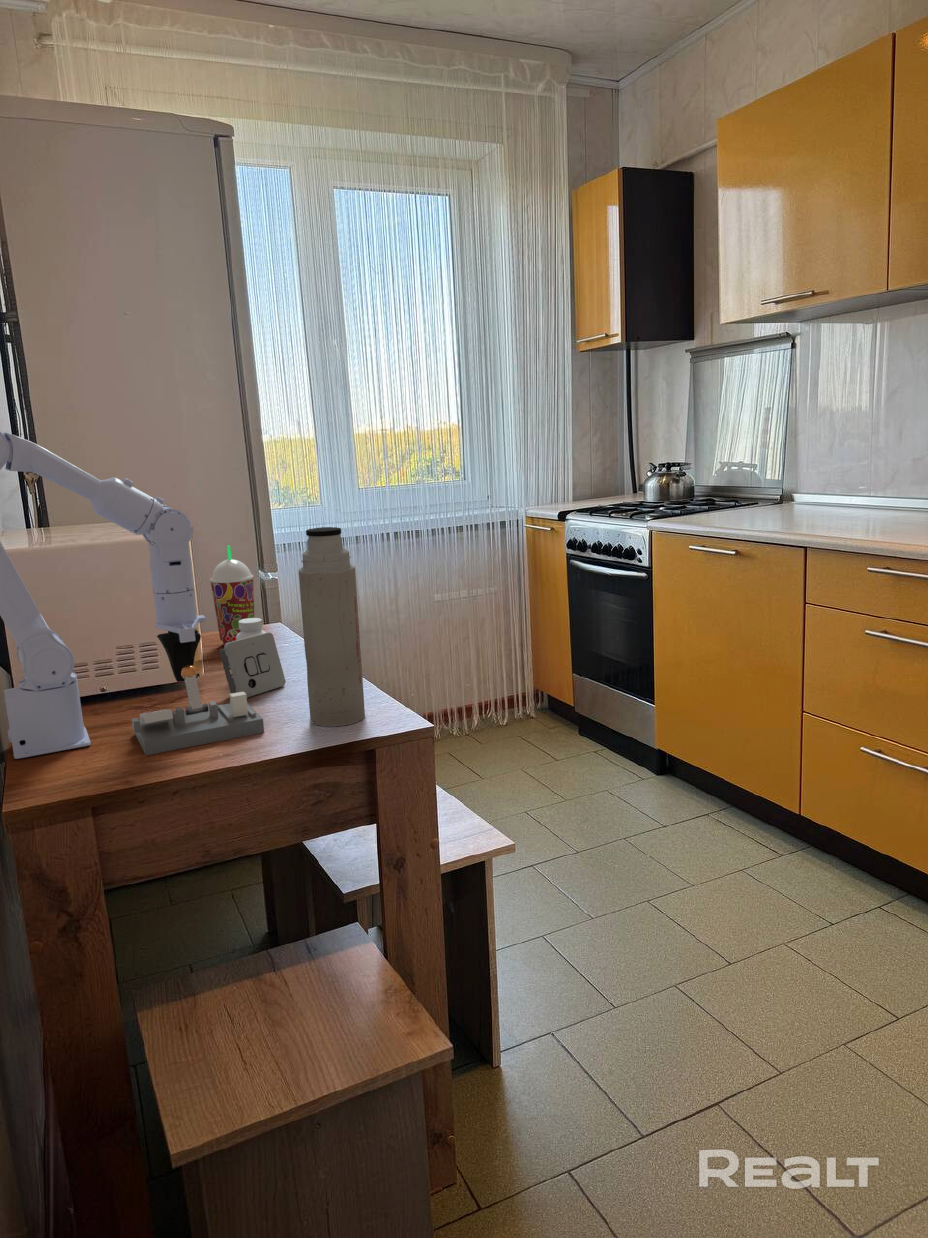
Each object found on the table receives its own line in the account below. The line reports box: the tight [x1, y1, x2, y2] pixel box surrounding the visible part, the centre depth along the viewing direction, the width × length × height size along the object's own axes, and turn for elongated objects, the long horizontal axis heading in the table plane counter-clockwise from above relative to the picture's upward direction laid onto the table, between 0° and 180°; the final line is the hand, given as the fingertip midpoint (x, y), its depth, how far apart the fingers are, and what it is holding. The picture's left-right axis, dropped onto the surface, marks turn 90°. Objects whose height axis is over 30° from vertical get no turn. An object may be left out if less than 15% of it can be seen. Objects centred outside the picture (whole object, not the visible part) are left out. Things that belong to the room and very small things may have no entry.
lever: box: [181, 665, 209, 716], centre depth 124 cm, size 3×2×7 cm
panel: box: [131, 701, 265, 756], centre depth 123 cm, size 17×10×4 cm, turn 118°
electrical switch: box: [218, 631, 287, 698], centre depth 143 cm, size 9×5×9 cm, turn 141°
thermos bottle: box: [298, 526, 366, 728], centre depth 125 cm, size 8×8×28 cm
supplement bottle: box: [236, 617, 267, 640], centre depth 152 cm, size 5×5×10 cm
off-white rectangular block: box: [229, 692, 248, 717], centre depth 124 cm, size 2×2×3 cm
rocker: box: [139, 709, 173, 723], centre depth 121 cm, size 4×6×1 cm, turn 28°
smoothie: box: [209, 545, 255, 646], centre depth 173 cm, size 8×8×20 cm
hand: (183, 680), depth 130 cm, fingers closed
